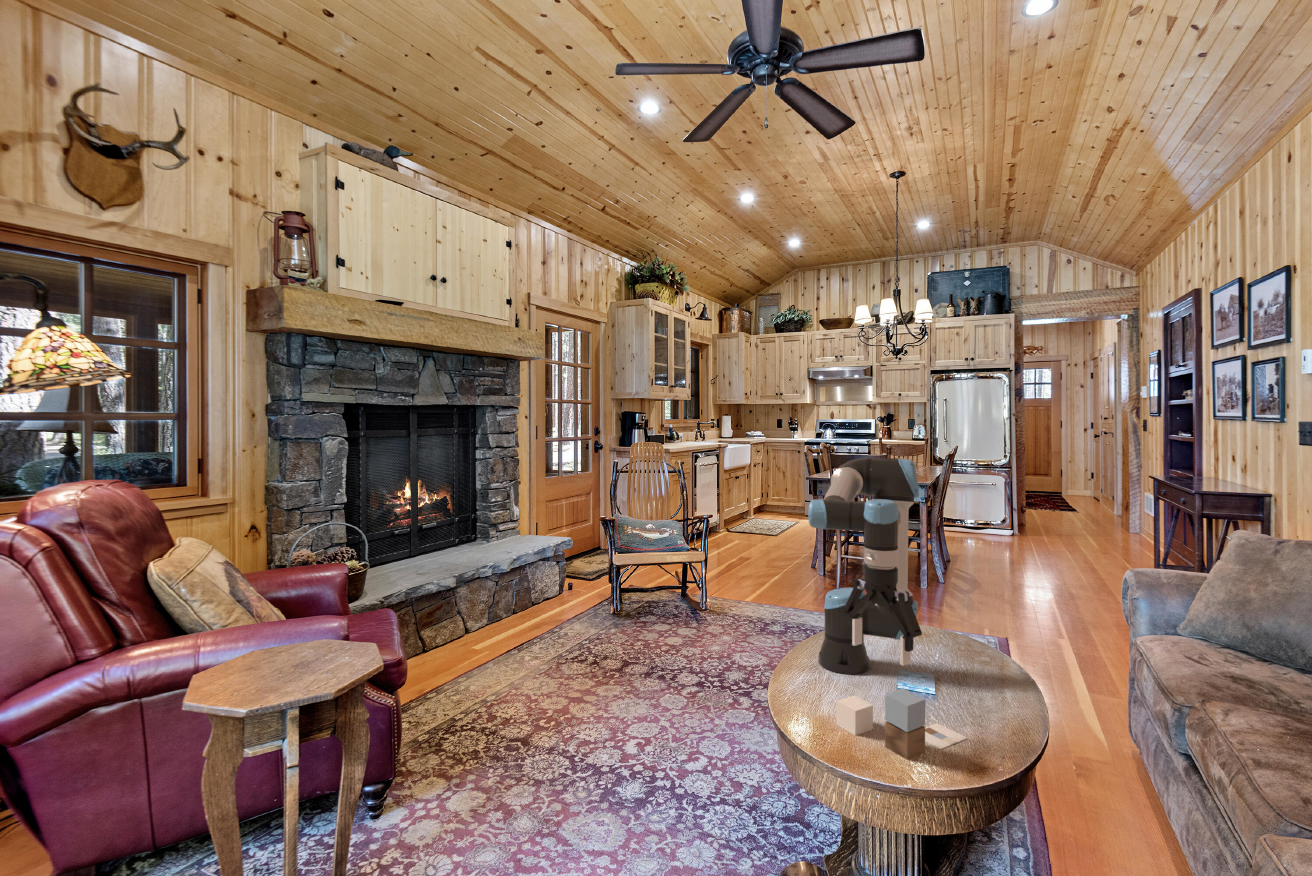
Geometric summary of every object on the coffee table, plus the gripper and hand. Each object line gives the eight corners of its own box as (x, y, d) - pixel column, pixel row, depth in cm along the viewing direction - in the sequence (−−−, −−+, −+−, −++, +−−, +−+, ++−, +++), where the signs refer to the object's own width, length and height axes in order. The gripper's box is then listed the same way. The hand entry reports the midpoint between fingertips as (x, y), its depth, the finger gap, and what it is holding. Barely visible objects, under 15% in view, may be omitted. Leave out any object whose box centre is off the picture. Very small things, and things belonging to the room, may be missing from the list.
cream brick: (836, 724, 148) (836, 700, 148) (853, 719, 151) (854, 695, 151) (855, 735, 143) (855, 711, 142) (872, 729, 145) (872, 705, 145)
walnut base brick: (885, 747, 137) (885, 719, 137) (902, 740, 140) (902, 713, 140) (907, 760, 132) (907, 731, 132) (924, 753, 135) (925, 724, 135)
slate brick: (885, 719, 137) (885, 694, 137) (902, 713, 140) (902, 688, 140) (907, 732, 132) (907, 706, 131) (924, 725, 135) (925, 699, 134)
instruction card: (910, 734, 143) (910, 732, 143) (936, 723, 148) (936, 722, 148) (940, 749, 136) (940, 748, 136) (967, 738, 141) (967, 737, 141)
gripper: (829, 556, 149) (828, 640, 150) (918, 580, 128) (917, 677, 129) (849, 553, 153) (849, 634, 154) (939, 575, 132) (938, 669, 133)
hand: (880, 653), depth 141 cm, fingers open, 13 cm apart
